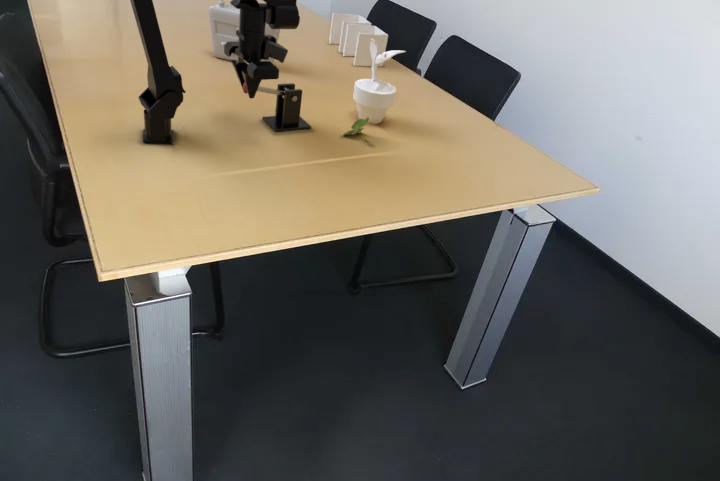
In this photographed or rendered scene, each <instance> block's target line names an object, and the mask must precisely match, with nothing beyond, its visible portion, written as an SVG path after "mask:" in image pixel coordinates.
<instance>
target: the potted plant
mask: <svg viewBox="0 0 720 481" xmlns="http://www.w3.org/2000/svg"><path fill="white" fill-rule="evenodd" d="M370 40H371V42H370V53H371V57H372V60H373V63H372V66H371V78H359V79H357V80H355V82H354V88H353V94H352V99H353V101H355V104H356V110H357V118H358V120H359V119H364V120H365V119H366V118H367V117H369V120H368V122H367V124H374V125H375V124H376V125H377V124H380V123H381V122H383V119H384V118H385V116H386V114H387V112H388V111H389V110H390V108H391V107H393V106H394V105H395V100H396V95H397V87H395V86H394V85H392V83H389V82H386V81H384V80H381V79H380V78H378V76H379V75H378V66H377V64H381V63H383V64H384V63H385V62H388V61H389V60H391V58H392V57H394V56H396V55H399V54H403V53H406V52H407V51H406V50H399V49H397V50H396V49H395V50H393V49H392V50H387V51H385V52H384V53H383V51H382V52H381V53H380V55H378V56H377V53H378V46H377V44H376V42H375V40H374V39H370ZM386 41H387V42H388V41H389V40H388V39H387V40H386V38H385V35H384V38H383V39H382V40H381V42H382V43H383V47H384V44H385V42H386ZM382 50H383V49H382Z"/></svg>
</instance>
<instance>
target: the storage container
mask: <svg viewBox="0 0 720 481" xmlns="http://www.w3.org/2000/svg"><path fill="white" fill-rule="evenodd" d="M329 31H330V32H329V39H328V44H329V45H339V46H338V53H339V54H341V53H342V57H354V58H353V66H354V67H372V63H373V60H372V57H371V53H370V42H371V40H370V39H374V40H375V42H376V44H377V46H378V53H377V56H378V55H380V53H381V52H382V51H383V53H384V52H386V50H387V44H388V41H386V42H385V44H384V47H383V43H382V42H381V40H382V39H383V38H384V35H385V38H386V40H388V39H389V34H388V33H386V32H384V31H383V30H382V29H380V28H379V27H378V26H376V25H372V23H371V22H370V21H369V20H368V19H366V18H364V17H363V16H362V15H360V14H349V13H333V12H332V16H331V25H330V30H329ZM382 49H383V50H382ZM383 66H384V62H383V63H381V64H377V67H383Z"/></svg>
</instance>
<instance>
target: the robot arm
mask: <svg viewBox="0 0 720 481" xmlns="http://www.w3.org/2000/svg"><path fill="white" fill-rule="evenodd" d="M129 1H130V4H131V9H132V12H133V15H134V19H135V22H136V23H135V24H136V26H137V29H138V34H139V37H140V42H141V44H142V48H143V51H144V55H145V58H146V61H147V62H146V63H147V74H146V76H147V77H146V78H147V87H146V89H144V91H143V92H142V93H140V95H139V96H138V100H139V103H140V104H141V106H142V107H143V109H144V110H143V123H144V128H143V130H142V132H143V133H142V143H144V144H145V143H146V144H173V143H174V130H173V129H172V120H173V119H174V118H175V115H176V112H177V110H178V108H179V107H180V106H181V104H182V103H183V102H184V94H186V93H187V92H186V90H185V89H184V86H183V78H182V74H181V73H180V72H179V71H178V70H177V69H176V68H175V67H174V66H173V65H171V66H170V64H169V61H168V56H167V52H166V48H165V45H164V40H163V37H162V32H161V29H160V24H159V20H158V16H157V13H156V9H155V5H154V1H153V0H129ZM262 2H263V3H262ZM262 2H259V0H231V1H230V3H229V5H230V6H234V7H235V8H237V9H240V20H239V30H236V35H237V36H238V37H239V41H237V42H227V43H226V44H225V45H224V53H225V54H226V55H227V56H228V57H230V56H231V55H232V53H233V54H234V60H231V61H230V63H231V64H232V67H233V68H234V71H235V73H236V74H235V75H236V76H237V78H238V80H239V84H240V87H241V89H242V91H243V93H244V94H247V95H248V97H249V99H255V96H256V94H257V92H258V91H257V89H258V87H259V86H260V84H261V83H262V81H265V80H278V79H279V77H280V69H279V68H278V67H277V65H275V64H274V63H271V62H270V61H261V59H264V60H269V57H270V58H273V59H274V61H277V62H279V63H281V64H284V62H285V60H286V58H287V55H288V52H289V50H288V49H287V48H286V47H284V46H283V45H281V44H279V42H277V43H276V38H275V37H273V36H271V35H269V34H268V35H265V24H266V23H267V24H269V26H270V28H271V29H280V30H297V29H298V28H299V25H300V21H301V17H300V12H299V8H298V5H297V2H298V1H297V0H262ZM265 2H266V3H265ZM244 83H245V85H246V88H247V92H248V93H246V92H245V91H244V90H243V84H244Z"/></svg>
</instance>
